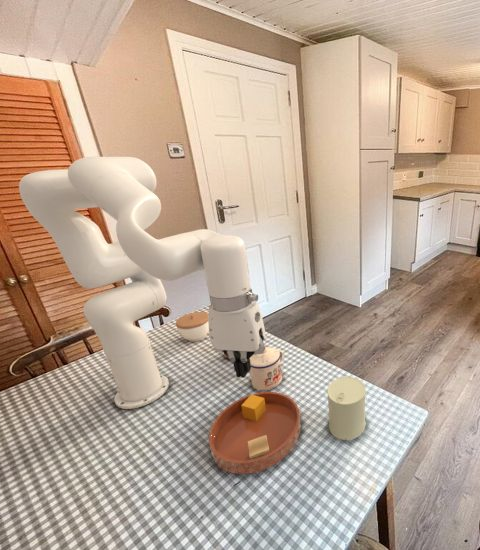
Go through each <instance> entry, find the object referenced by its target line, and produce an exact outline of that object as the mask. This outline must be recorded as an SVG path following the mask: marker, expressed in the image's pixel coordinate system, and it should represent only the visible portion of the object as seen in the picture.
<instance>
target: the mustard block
mask: <svg viewBox="0 0 480 550" xmlns="http://www.w3.org/2000/svg"><path fill="white" fill-rule="evenodd" d="M252 394H253V393H251V394H249V395H250V397H249V398H248V399H247V400H246V401H245V402H244V403H243V404H242V405H241V407H242V412H243V417H244V418H247V419H251V420H254V421H257V420H258V419H259V418H260V417H261V415H262V414H263V413H264V412H265V410H266V406H265V399H264V398H262V397H259V396H255V395H252Z"/></svg>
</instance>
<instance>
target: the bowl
mask: <svg viewBox="0 0 480 550" xmlns="http://www.w3.org/2000/svg"><path fill="white" fill-rule="evenodd" d="M251 394H252V395H255V396H259V397H262V398H264V399H265V406H266V410H265V412H264V413H263V414H262V415H261V417H260V418H259V419H258V420H257V421H254V420H251V419H247V418H244V417H243V412H242V407H241V405H242V404H243V403H244V402H245V401H246V400H247V399H248V398H249V397H250V395H251ZM251 394H247V395H245V396H244V397H241V398H238V399H237V400H235V401H234V402H232V403H231V404H229V405H228V406H227V407H225V409H223V410H222V411H221V412H220V413H219V414H218V416H217V417H216V418H215V420H214V421H213V423H212V425H211V427H210V430H209V434H208V443H209V449H210V453H211V455H212V458H213V461H214V463H215V464H216V465H217V466H218V467H219V468H220V469H221V470H223V471H224V472H227V473H231V474H236V475H251V474H255V473H260V472H262V471H265V470H267V469H270V468H271V467H273V466H275V465H277V464H278V463H279V462H281V461H282V460H283V459H284V458H285V457H287V455H288V454H289V453H290V452H291V451H292V450H293V449H294V447H295V445H296V444H297V442H298V441H299V440H298V439H299V437H300V435H301V434H300V433H301V428H302V425H301V414H300V409H299V407H298V404H297V403H296V401H295V400H294V399H293V398H291V397H290V396H288V395H287V394H283V393H282V392H276V391H261V392H256V393H251ZM265 435H266V436H267V441H268V446H269V452H270V453H269V454H266V455H264V456H261V457H259V458H255V459H251V460H250V457H249V449H248V441H250V440H253V439H256V438H259V437H262V436H265Z"/></svg>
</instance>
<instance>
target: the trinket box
mask: <svg viewBox="0 0 480 550" xmlns="http://www.w3.org/2000/svg"><path fill="white" fill-rule="evenodd" d="M208 313H209V312H204V311H194V312H189V313H186V314H184V315H182V316H180V317H179V318H177V320H175V325H176V328H177V331H178V334H179V335H180V336H181V338H183V339H185V340H187V341H189V342H199V341H202V340H203V339H205V338H206V337H207V335H208V334H209V325H208Z"/></svg>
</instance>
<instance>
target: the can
mask: <svg viewBox="0 0 480 550" xmlns="http://www.w3.org/2000/svg"><path fill="white" fill-rule="evenodd" d="M366 392H367V391H366V385H365V384H364V382H363V381H362V380H361V379H358V378H356V377H353V376H342V377H339V378H336V379H334V380H333V381H332V382H331V383H329V385H328V386H327V390H326V393H327V402H328V403H327V404H328V405H327V406H328V423H329V424H328V427H329V431H330V433H331V434H332V436H333V437H335V438H336V439H339V440H343V441H350V440H354V439H356V438H358V437H359V436H361V435H362V434H363V432H364V431H365V429H366V425H367V423H366Z"/></svg>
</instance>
